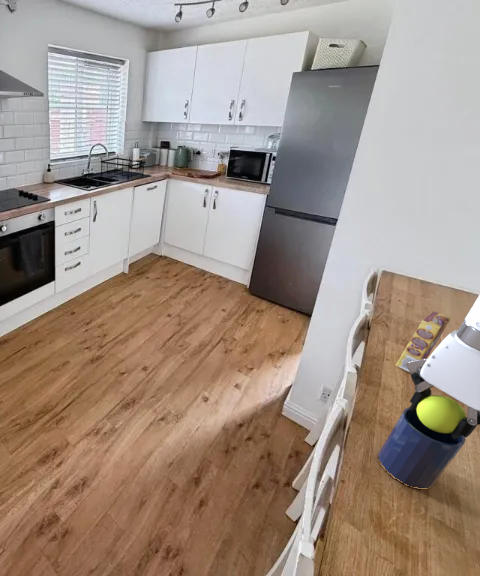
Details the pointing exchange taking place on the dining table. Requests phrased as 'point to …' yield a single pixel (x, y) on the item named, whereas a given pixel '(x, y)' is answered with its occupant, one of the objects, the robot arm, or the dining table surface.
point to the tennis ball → (440, 413)
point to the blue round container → (417, 451)
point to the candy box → (424, 339)
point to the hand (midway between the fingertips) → (436, 420)
